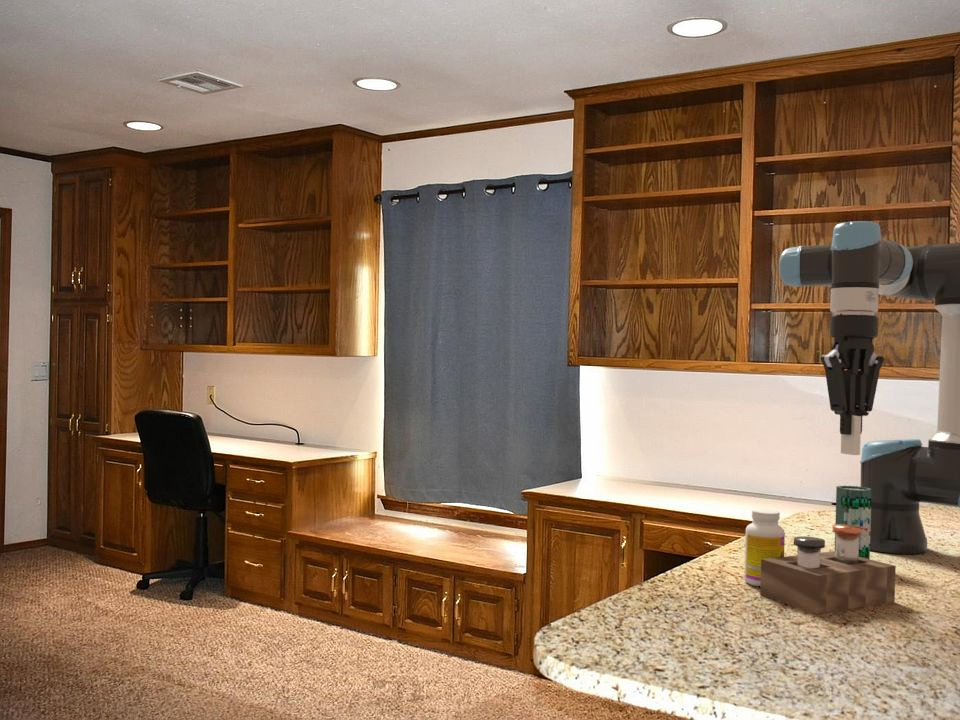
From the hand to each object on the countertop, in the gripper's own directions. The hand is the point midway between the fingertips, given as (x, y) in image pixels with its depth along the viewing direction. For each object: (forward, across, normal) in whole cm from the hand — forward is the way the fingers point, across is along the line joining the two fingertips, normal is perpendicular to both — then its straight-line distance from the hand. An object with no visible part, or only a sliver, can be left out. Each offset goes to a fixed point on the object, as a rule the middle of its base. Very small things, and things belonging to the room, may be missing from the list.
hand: (850, 453), depth 153 cm
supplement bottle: (+24, -7, +12) cm, 28 cm away
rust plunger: (+21, 0, 0) cm, 21 cm away
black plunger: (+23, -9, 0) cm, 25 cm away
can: (+24, +20, +16) cm, 35 cm away
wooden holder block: (+24, -5, 0) cm, 24 cm away
